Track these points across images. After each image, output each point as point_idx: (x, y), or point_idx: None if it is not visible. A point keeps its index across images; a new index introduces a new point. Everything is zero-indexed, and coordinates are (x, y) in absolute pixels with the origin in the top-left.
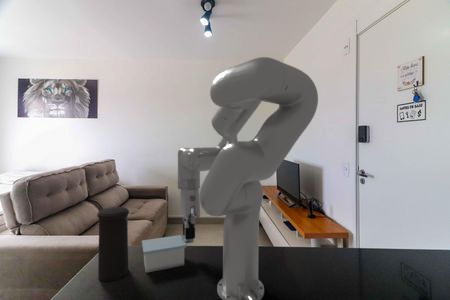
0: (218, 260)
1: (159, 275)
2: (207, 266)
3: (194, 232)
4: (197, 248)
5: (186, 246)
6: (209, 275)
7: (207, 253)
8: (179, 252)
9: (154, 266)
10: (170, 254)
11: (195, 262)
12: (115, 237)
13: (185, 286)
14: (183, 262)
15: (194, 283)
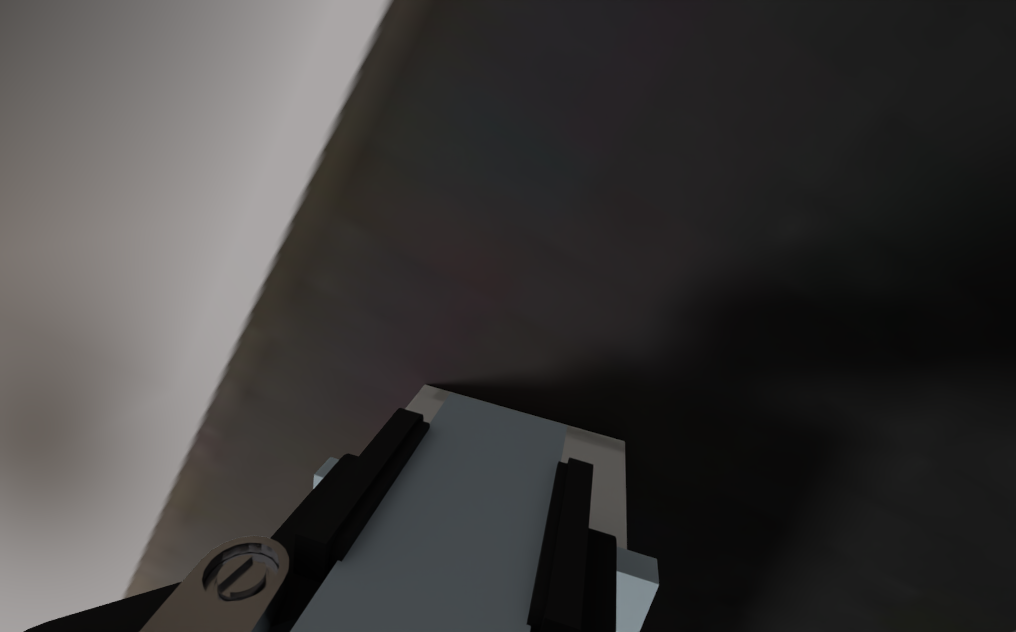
0: (774, 125)
1: None
2: (793, 296)
3: (585, 535)
4: (386, 180)
5: (657, 570)
6: (951, 370)
7: (548, 146)
8: None
9: None
10: None
11: (642, 345)
12: None
13: (918, 580)
14: (622, 461)
15: (943, 520)
